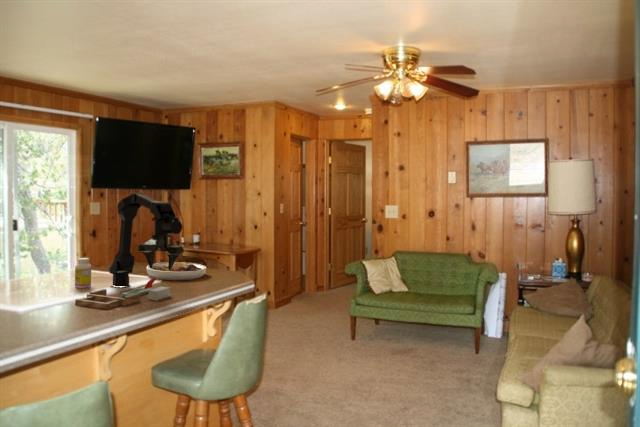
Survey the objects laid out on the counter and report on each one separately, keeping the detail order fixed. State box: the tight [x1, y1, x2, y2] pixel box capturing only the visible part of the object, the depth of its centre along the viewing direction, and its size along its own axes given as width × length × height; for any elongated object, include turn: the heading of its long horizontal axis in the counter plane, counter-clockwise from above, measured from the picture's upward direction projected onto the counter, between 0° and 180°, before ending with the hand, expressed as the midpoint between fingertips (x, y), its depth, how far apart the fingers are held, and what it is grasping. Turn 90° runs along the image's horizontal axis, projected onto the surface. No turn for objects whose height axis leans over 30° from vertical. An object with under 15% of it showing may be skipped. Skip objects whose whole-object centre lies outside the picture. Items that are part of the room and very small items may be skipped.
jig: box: [74, 288, 141, 310], centre depth 205 cm, size 18×17×3 cm
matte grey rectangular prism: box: [148, 286, 171, 301], centre depth 218 cm, size 4×9×4 cm, turn 161°
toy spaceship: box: [120, 277, 164, 298], centre depth 226 cm, size 27×11×5 cm, turn 170°
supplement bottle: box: [74, 257, 92, 289], centre depth 232 cm, size 7×7×13 cm
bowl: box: [146, 261, 207, 281], centre depth 270 cm, size 30×30×8 cm
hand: (160, 269), depth 218 cm, fingers open, 9 cm apart
